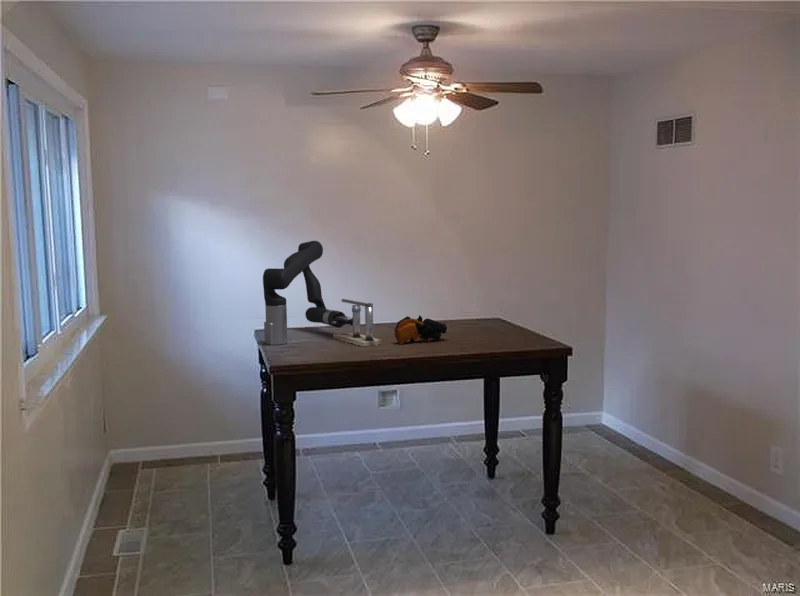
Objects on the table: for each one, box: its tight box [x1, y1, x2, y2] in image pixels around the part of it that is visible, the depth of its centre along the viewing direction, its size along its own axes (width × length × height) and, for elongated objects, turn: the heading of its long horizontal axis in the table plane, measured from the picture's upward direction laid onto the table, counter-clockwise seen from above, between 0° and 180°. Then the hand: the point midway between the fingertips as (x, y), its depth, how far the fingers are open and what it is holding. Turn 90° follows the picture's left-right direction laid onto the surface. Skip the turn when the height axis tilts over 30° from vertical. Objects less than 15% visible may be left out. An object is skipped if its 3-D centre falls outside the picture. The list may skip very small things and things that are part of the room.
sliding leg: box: [351, 304, 362, 337], centre depth 341 cm, size 4×4×14 cm
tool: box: [394, 314, 448, 345], centre depth 340 cm, size 8×23×15 cm, turn 110°
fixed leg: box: [341, 298, 374, 341], centre depth 341 cm, size 3×23×16 cm, turn 36°
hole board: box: [333, 331, 384, 348], centre depth 342 cm, size 10×25×2 cm, turn 36°
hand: (354, 323), depth 343 cm, fingers closed
